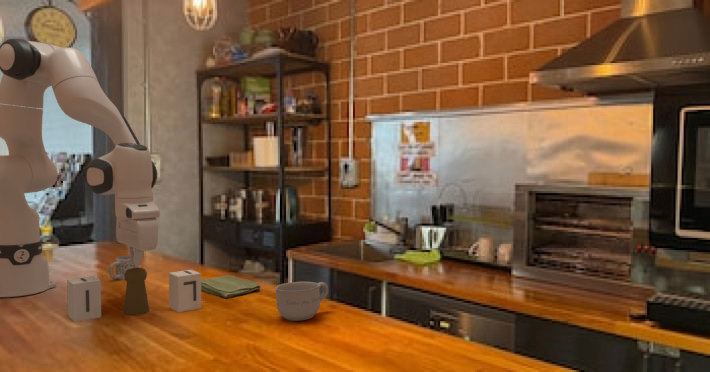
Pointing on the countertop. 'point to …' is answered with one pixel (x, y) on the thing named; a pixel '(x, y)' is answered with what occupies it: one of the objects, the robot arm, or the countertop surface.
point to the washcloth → (228, 286)
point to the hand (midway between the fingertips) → (136, 264)
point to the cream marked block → (185, 290)
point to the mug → (121, 267)
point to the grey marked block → (84, 298)
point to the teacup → (299, 299)
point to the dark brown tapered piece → (136, 292)
